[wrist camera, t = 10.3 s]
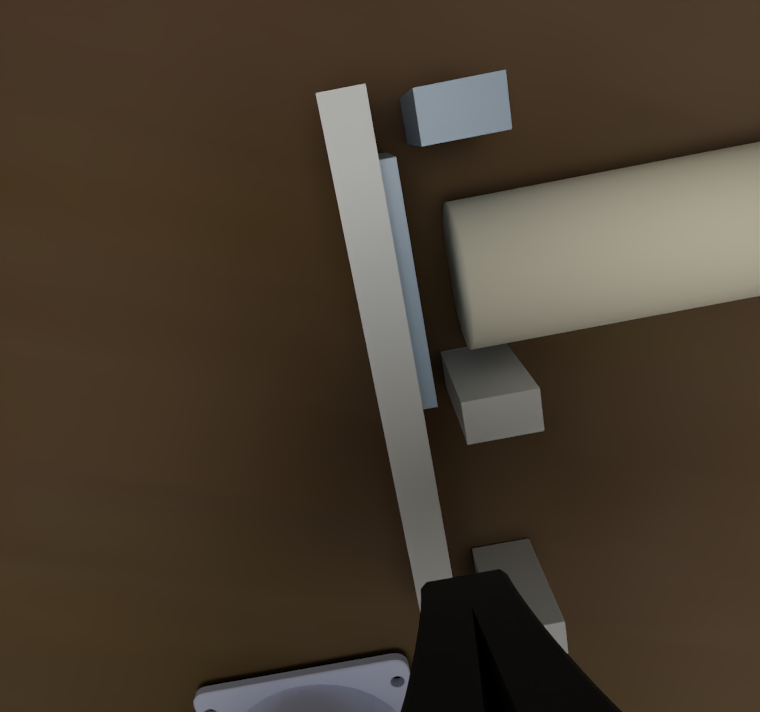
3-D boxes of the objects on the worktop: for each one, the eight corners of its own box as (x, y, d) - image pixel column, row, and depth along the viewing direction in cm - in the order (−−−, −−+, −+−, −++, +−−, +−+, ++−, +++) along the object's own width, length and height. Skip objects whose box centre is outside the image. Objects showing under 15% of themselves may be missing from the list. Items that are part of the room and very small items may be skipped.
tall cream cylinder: (868, 97, 17) (998, 138, 14) (833, 231, 20) (937, 293, 16) (437, 180, 18) (465, 239, 14) (451, 304, 20) (478, 379, 17)
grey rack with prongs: (532, 571, 23) (580, 686, 18) (421, 590, 23) (440, 711, 18) (471, 76, 17) (516, 53, 12) (325, 105, 17) (315, 92, 12)
